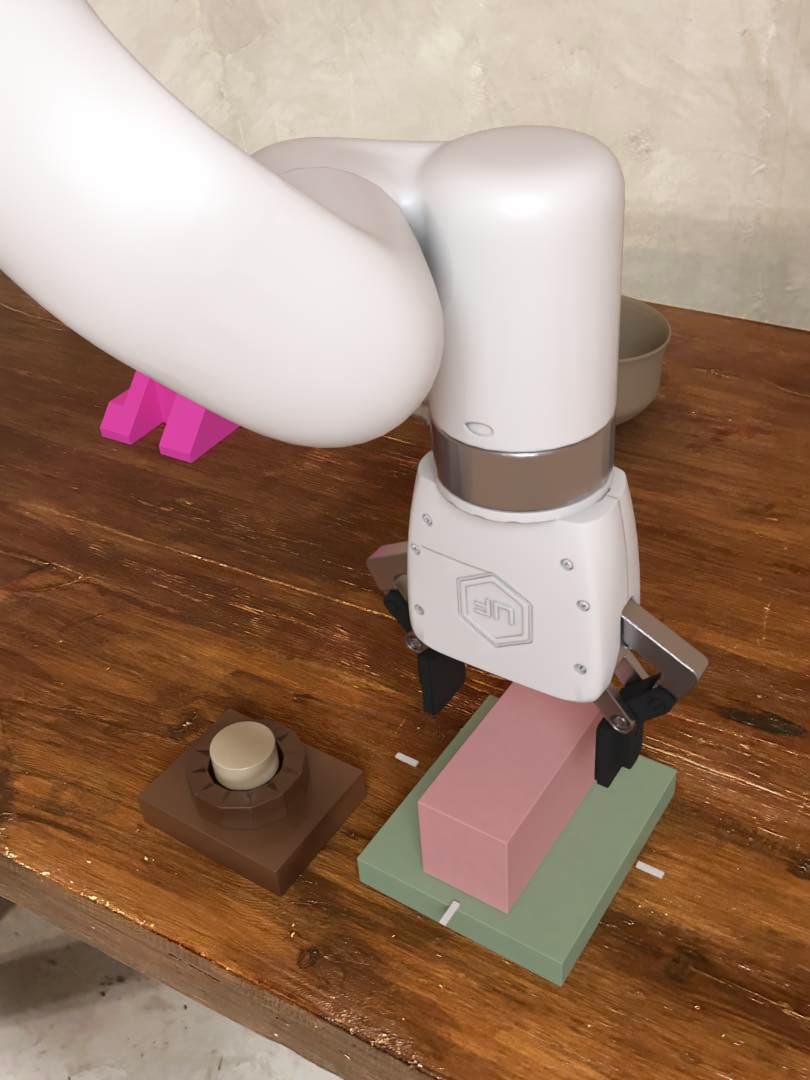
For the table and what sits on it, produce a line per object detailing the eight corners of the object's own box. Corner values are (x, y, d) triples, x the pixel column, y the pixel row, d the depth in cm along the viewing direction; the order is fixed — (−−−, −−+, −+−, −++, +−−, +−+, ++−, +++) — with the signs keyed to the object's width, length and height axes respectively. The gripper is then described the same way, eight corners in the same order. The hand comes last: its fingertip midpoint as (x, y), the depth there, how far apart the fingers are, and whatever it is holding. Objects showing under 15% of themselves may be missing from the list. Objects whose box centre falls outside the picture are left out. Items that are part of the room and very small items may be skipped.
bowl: (661, 469, 90) (671, 357, 84) (503, 460, 92) (502, 350, 86) (664, 392, 100) (673, 286, 94) (521, 385, 102) (521, 282, 96)
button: (251, 801, 60) (246, 779, 59) (200, 775, 62) (195, 753, 61) (292, 757, 63) (288, 735, 62) (242, 733, 64) (238, 712, 63)
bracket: (189, 376, 108) (168, 275, 102) (275, 398, 103) (259, 294, 97) (102, 436, 100) (74, 330, 94) (191, 463, 95) (168, 353, 89)
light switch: (280, 898, 60) (270, 850, 57) (144, 821, 64) (129, 774, 62) (367, 796, 65) (361, 748, 62) (234, 732, 70) (224, 686, 67)
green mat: (590, 1027, 53) (592, 1001, 51) (315, 879, 60) (311, 854, 59) (717, 795, 63) (721, 768, 62) (469, 694, 71) (469, 669, 70)
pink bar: (507, 915, 56) (506, 840, 52) (422, 871, 58) (416, 797, 55) (611, 756, 63) (616, 683, 60) (533, 724, 66) (533, 651, 62)
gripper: (303, 437, 48) (345, 717, 59) (686, 551, 40) (657, 854, 50) (399, 362, 53) (422, 633, 64) (758, 450, 45) (718, 745, 55)
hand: (526, 730), depth 57 cm, fingers open, 9 cm apart
